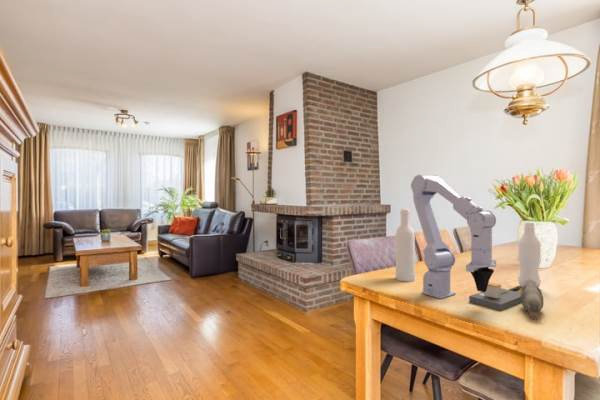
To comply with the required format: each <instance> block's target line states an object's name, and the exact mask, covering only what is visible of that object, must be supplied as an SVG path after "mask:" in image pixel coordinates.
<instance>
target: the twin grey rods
mask: <svg viewBox="0 0 600 400" xmlns="http://www.w3.org/2000/svg"><path fill="white" fill-rule="evenodd" d="M520 288H521V286H520V285H519V286H515V287H512V288H509V289H508V290H511V291H515V292H516V291H518V290H520Z"/></svg>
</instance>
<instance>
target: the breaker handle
mask: <svg viewBox="0 0 600 400" xmlns="http://www.w3.org/2000/svg"><path fill="white" fill-rule="evenodd" d="M501 288H502V285H501V284H500V283H494V282H490V281H489V282H488V286H487V290H486V292H484V296H488V297H492V298H496V299H497V298H499V297H501Z"/></svg>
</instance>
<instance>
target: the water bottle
mask: <svg viewBox="0 0 600 400" xmlns="http://www.w3.org/2000/svg"><path fill="white" fill-rule="evenodd" d="M535 230H536V228H535V222H524V227H523V232H522V235H521V236H520V238H519V240H518V242H517V245H518V246H517V247H518V251H517V252H518V253H517V254H518V257H517V260H518V262H519V263H518V264H519V267H520V271H519V275H518V276H517V282H518V284H519V287H520V288H522V289H523V287H524V286H525V285H526V284H525V282H526V281H527V280H529V279H530V280H533V281H535V283H536V287H537V288H539V289H540V287H541V278H540V275H539V267H540V264H541V262H542V259H541V246H542V244H541V242H540V239H539V237H538V236H537V235H536V231H535Z"/></svg>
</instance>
